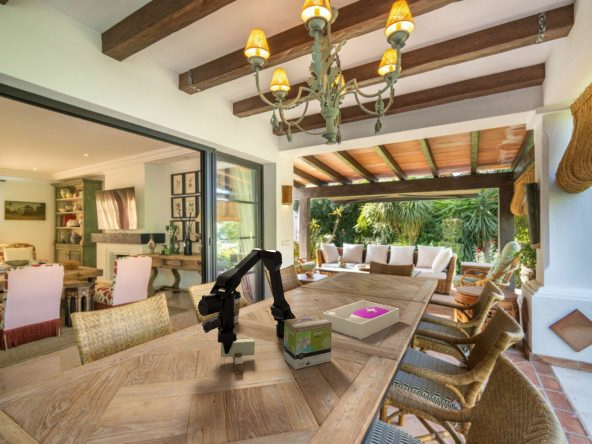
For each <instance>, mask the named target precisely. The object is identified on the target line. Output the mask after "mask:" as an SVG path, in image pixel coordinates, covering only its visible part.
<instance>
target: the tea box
mask: <svg viewBox="0 0 592 444" xmlns="http://www.w3.org/2000/svg"><path fill="white" fill-rule="evenodd" d="M332 331H333V330H332V323H331V322H330V321H328V320H326V319H324V318H322V315H321V316H320V315H318V314H317V315H311V316H303V317H296V319H289V320H285V325H284V338H283V359H284V361H286V362H287V363H288V365H290V366H291V368H292V369H294V370H295V371H296V370H298V369H302V368H303V369H304V368H307V367H311V366H316V365H320V364H324V363H325V362H326V363H330V362H331V361H332V360H331V358H332ZM329 361H330V362H329Z"/></svg>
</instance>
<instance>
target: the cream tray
mask: <svg viewBox="0 0 592 444" xmlns="http://www.w3.org/2000/svg"><path fill="white" fill-rule="evenodd" d="M321 317H322V318H324V319H326V320H328V321H330V322H331V323H332V331H334V330H335V331H334V332H337V331H338V332H337V333H340V332H341V334H343V333H344V334H343V335H346V334H348V335H347V336H349V335H351V336H350V337H352V336H354V337H353V338H355V337H357V338H356V339H358V338H359V339H358V340H363V339H365V338H368V337H370V336H371V334H372V335H374V334H376V333H378V332H379V331H382V330H384V329H386V328H388V327H391V326H393V325H395V324H396V323H398V322H399V323H400V308H398V307H394V306H389V305H385V304H381V303H376V302H371V301H367V300H364V299H362V300H358V301H356V302H352V303H349V304H346V305H342V306H339V307H336V308H333V309H330V310H327V311H324V312H322V313H321ZM373 333H374V334H373ZM364 337H365V338H364ZM362 338H363V339H362Z"/></svg>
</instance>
